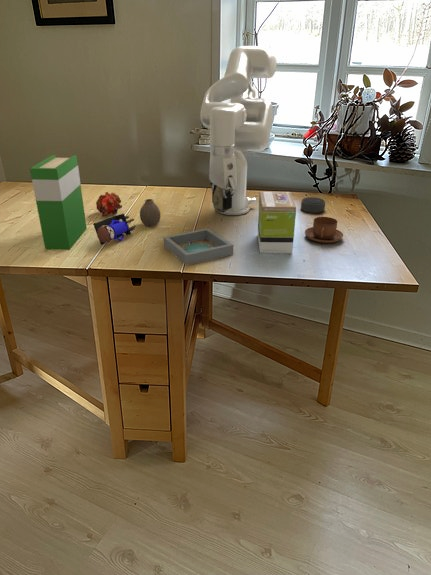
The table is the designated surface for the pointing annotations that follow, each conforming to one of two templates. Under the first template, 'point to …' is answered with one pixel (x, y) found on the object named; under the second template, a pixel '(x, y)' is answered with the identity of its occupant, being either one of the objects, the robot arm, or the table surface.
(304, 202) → the smart speaker
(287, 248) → the tea box
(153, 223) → the vase
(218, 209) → the decorative egg
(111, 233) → the character figurine
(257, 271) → the table surface
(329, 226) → the cup and saucer
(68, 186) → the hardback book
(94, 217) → the table surface
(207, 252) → the walled pen
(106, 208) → the dragon fruit
